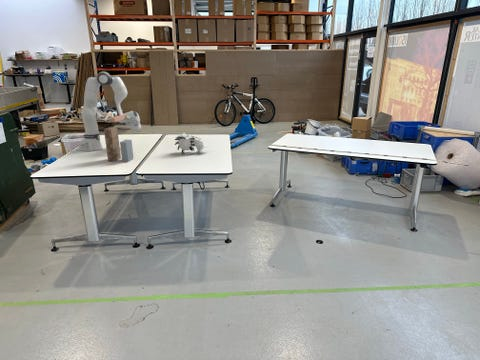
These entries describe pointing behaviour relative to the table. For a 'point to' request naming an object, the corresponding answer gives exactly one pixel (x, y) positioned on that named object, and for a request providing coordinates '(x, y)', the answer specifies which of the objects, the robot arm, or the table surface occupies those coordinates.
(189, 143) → the figurine
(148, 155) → the table surface
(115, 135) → the pillar
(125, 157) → the blue-grey block
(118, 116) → the bar
